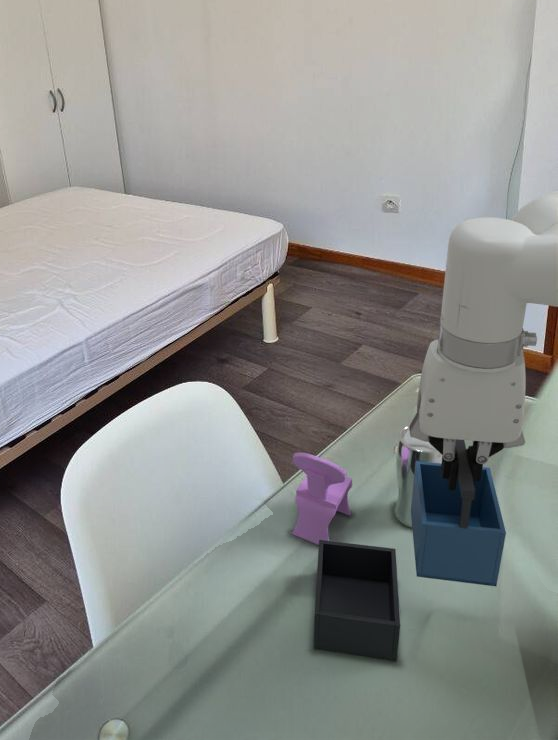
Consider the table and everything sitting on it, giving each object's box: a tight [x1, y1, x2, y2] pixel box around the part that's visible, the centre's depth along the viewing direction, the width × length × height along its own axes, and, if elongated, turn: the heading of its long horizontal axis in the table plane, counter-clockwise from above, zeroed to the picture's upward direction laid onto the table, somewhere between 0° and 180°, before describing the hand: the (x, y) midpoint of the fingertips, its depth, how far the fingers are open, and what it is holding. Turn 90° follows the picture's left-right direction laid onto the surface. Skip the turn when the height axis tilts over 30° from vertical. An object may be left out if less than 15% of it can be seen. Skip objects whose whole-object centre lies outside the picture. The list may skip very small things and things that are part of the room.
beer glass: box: [393, 424, 442, 528], centre depth 104 cm, size 7×7×15 cm
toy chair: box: [291, 452, 353, 546], centre depth 104 cm, size 8×9×15 cm
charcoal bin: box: [313, 540, 401, 663], centre depth 91 cm, size 10×12×7 cm
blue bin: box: [411, 439, 507, 587], centre depth 78 cm, size 8×10×13 cm
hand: (459, 482), depth 77 cm, fingers closed on blue bin, 1 cm apart
